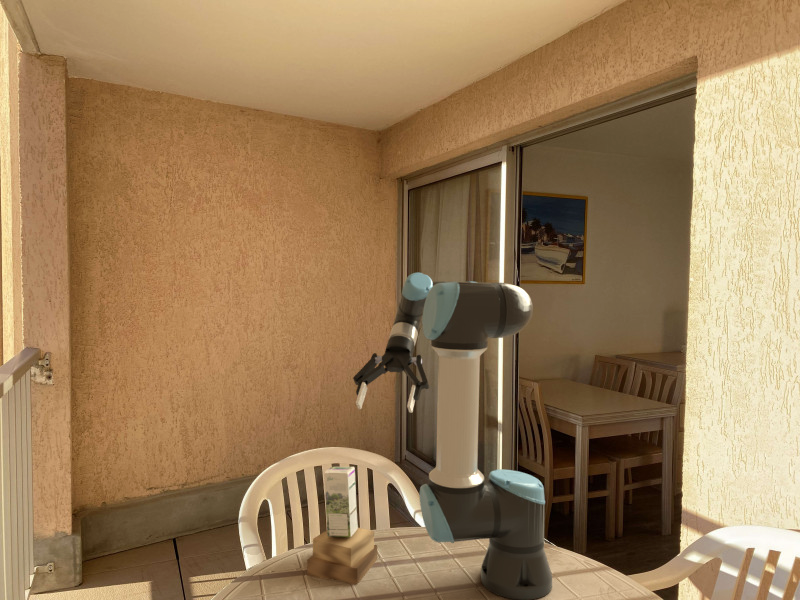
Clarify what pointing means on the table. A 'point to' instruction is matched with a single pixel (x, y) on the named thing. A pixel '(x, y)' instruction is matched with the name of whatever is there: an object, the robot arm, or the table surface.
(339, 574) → the walnut block
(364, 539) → the oak block
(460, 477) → the robot arm
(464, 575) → the table surface
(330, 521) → the syrup box
